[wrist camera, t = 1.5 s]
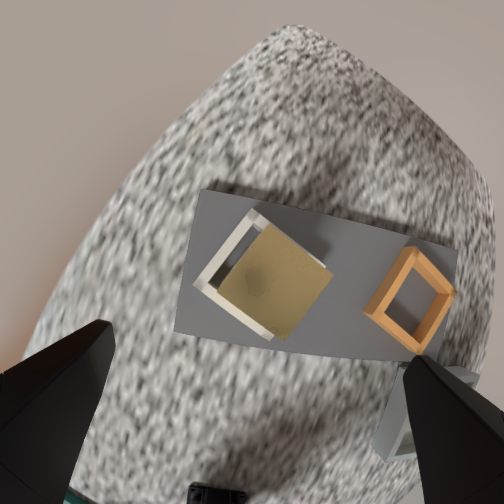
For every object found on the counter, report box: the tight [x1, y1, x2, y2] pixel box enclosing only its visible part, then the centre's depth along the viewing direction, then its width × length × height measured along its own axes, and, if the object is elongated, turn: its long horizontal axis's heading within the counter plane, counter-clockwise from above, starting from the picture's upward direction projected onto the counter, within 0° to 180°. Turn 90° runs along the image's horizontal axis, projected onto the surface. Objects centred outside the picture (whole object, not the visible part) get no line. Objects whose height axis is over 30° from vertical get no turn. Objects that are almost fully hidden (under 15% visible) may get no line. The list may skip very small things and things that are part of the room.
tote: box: [371, 366, 480, 463], centre depth 24 cm, size 10×10×4 cm
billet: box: [217, 224, 334, 341], centre depth 19 cm, size 4×4×10 cm
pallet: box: [174, 189, 458, 362], centre depth 24 cm, size 12×26×4 cm, turn 79°
